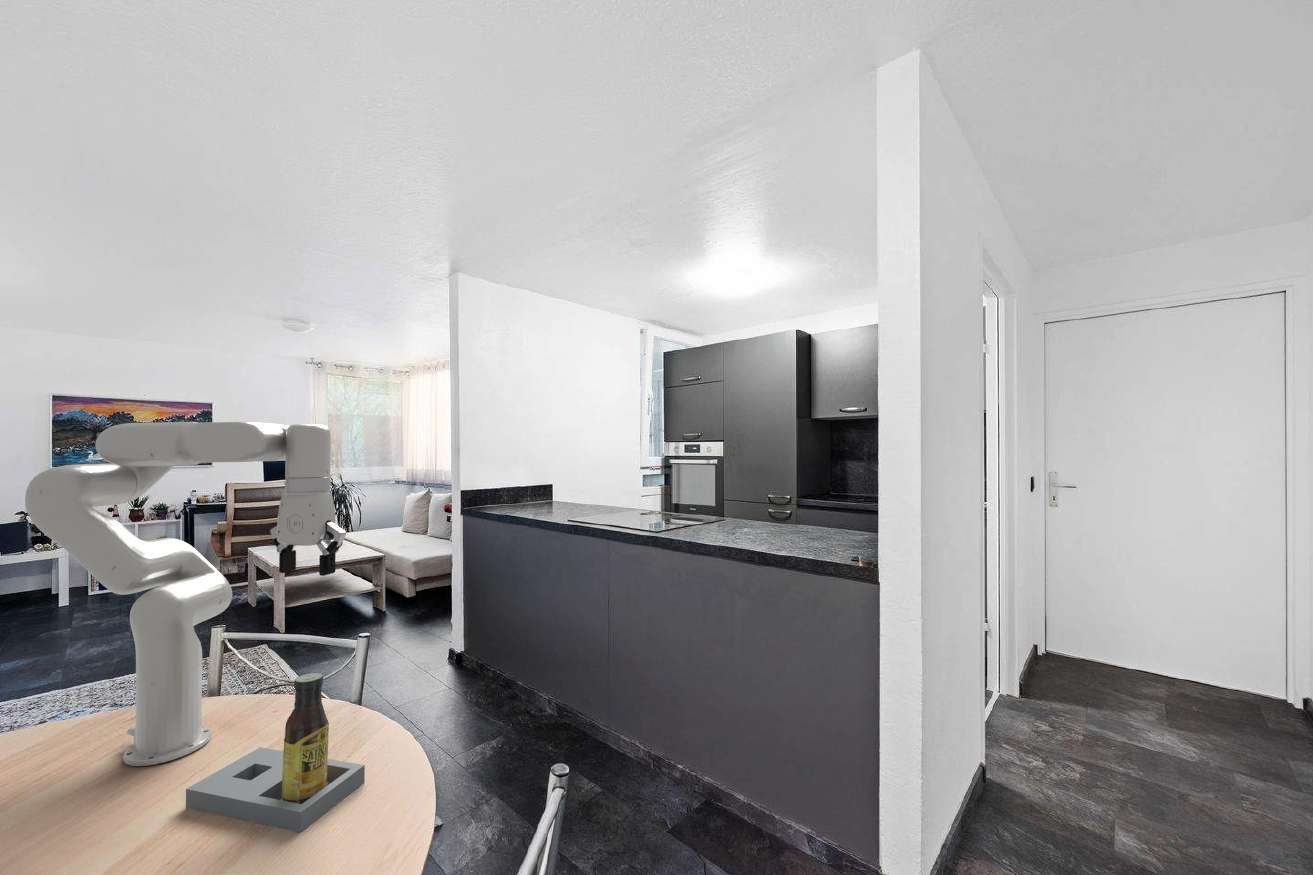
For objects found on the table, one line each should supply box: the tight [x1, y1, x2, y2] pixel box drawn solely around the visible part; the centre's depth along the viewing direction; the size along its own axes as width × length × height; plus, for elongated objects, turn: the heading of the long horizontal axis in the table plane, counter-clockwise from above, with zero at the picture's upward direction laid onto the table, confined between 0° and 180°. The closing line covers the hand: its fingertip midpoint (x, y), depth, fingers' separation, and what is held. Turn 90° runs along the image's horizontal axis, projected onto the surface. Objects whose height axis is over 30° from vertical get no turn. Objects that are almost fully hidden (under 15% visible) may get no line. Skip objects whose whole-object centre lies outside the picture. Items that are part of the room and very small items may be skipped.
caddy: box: [185, 746, 366, 833], centre depth 90 cm, size 23×12×3 cm, turn 76°
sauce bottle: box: [281, 672, 330, 804], centre depth 89 cm, size 7×6×20 cm
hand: (307, 572), depth 107 cm, fingers open, 9 cm apart
